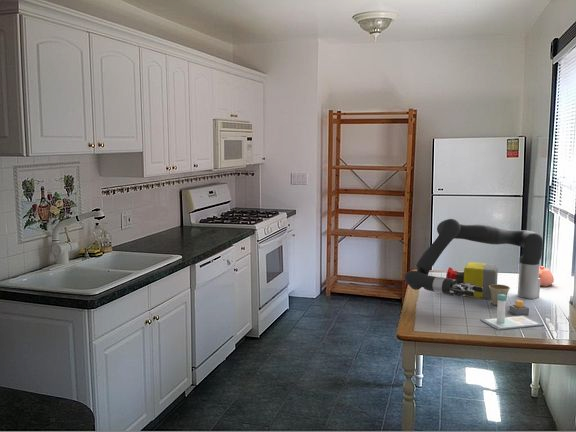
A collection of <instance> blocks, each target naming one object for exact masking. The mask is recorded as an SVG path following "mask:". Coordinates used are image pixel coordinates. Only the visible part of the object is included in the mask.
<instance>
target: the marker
mask: <svg viewBox="0 0 576 432" xmlns="http://www.w3.org/2000/svg"><path fill="white" fill-rule="evenodd" d="M506 304H507V300H506V295H504V294H498V305H496V306H497V307H496V318H497V322H498V323H505V317H506Z"/></svg>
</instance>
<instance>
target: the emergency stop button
mask: <svg viewBox="0 0 576 432" xmlns="http://www.w3.org/2000/svg"><path fill="white" fill-rule="evenodd" d="M498 268H499V266H498V264H494V263H484V262H471V261H469V262H467V264H466V265H465V267H464V269H463V271H462V272H461V271H458V270H453V268H452V267H448V269H447V271H446V276H445V278H449V279H455V280H456V281H457V283H458V284H463V283H470V284H476V286H477V287H482V288H483V292H476V291H473V292H474V296H473V297H472V296H467V295H465V296H464V298H465V297H466V298H467V297H468V298H476V299H484V300H492V299H491V290H490V288H489V286H490V285H494V284H498V274H499V269H498ZM471 288H472V287H471ZM467 290H468V289H467Z"/></svg>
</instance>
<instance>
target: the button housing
mask: <svg viewBox="0 0 576 432" xmlns="http://www.w3.org/2000/svg"><path fill="white" fill-rule="evenodd" d="M508 307H509V308H508V311H509V313H511V314H514V315H515V316H521V315H525V316H527V315H529V313H530V307H529V306H527V305H526V306H525V305H524V306H523V308H517V307H515V304H509V306H508Z"/></svg>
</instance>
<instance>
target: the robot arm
mask: <svg viewBox="0 0 576 432" xmlns="http://www.w3.org/2000/svg"><path fill="white" fill-rule="evenodd" d="M436 232H437V234H438V235H437V237H436V239H435V240H434V241H433V242H432V243H431V245H430V246H429V247H428V248H427V249H426V250H425V251H424V252H423V254H422V255H421V256H420V257H419V259H418V261H417V262H416V265H415V266H416V270H409V271H407V272H406V273H405V275H404V281H405V282H406V284H407V285H408V286H409V287H410V288H411V289H412V290H414V291H418V290H420V289H421V288H423V289H424V290H426V291H431V292H434V293H438V294H442V295H448V296H457V297H465V295H467V296H472V297H471V298H474V297H473V296H474V292H473V291H476V292H483V288H482V287H477V286H476V284H470V283H463V284H458V283H457V281H456V280H455V279H449V278H446V277H442V276H435V275H434V276H433V275H429V273H430V271H431V269H432V268H433V266H434V265H435V264H436V262H437V261H438V259H439V257H440V256H441V255H442V253H443V251H445V249H446V248H447V247H448V246H449V244H450V243H451V242H452V241H453V240H454V239H457V240H459V239H460V240H467V241H470V242H475V243H480V244H481V243H482V244H486V245H487V244H488V245H512V246H517V247H520V248H522V249H523V254H522V255H521V256H520V257H519V263H518V264H519V267H518V283H517V284H518V285H517V296H518V297H520V298H524V299H537V298H540V289H541V285H540V278H539V268H540V261H541V259H542V255H543V247H544V246H543V245H544V242H543V237H542V235H541V234H539V233H537V232H535V231H532V230H521V229H520V230H519V229H508V228H504V227H502V226H501V227H500V226H496V225H488V224H461V223H460V222H459V221H458V220H457V219H455V218H448V219H445V220H442V221H440V223H438V224H437V226H436ZM471 287H472V288H471ZM467 289H468V290H467Z"/></svg>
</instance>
